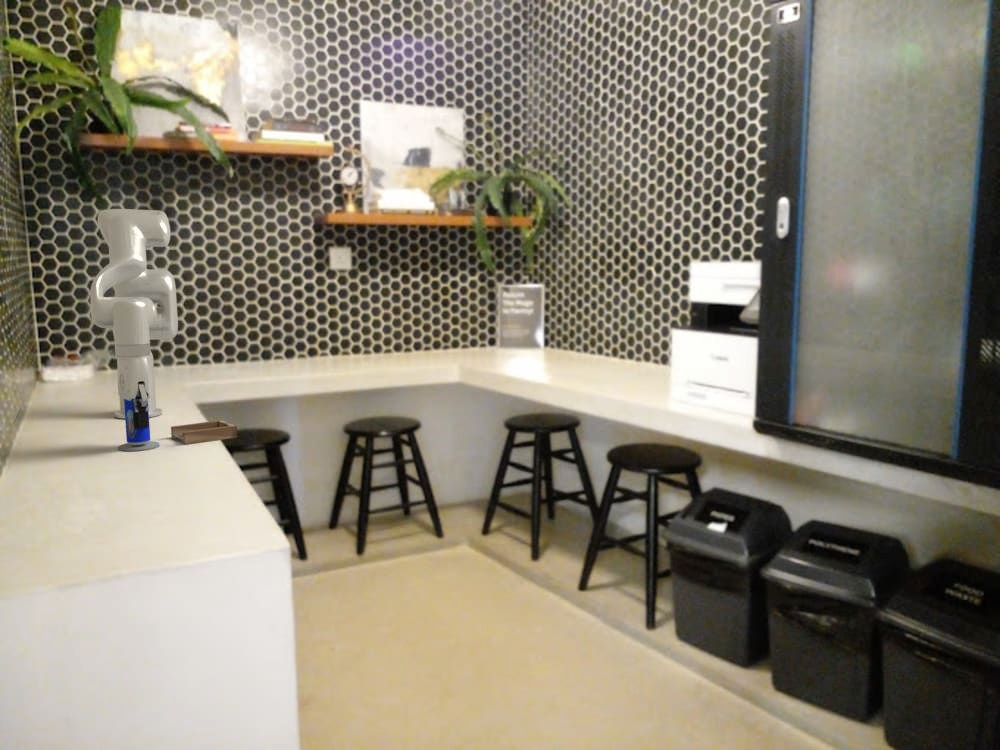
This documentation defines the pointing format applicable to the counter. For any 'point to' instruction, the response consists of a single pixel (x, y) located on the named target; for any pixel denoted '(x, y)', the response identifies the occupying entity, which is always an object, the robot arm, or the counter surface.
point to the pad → (138, 447)
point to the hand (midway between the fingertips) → (137, 425)
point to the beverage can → (133, 434)
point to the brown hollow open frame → (203, 432)
